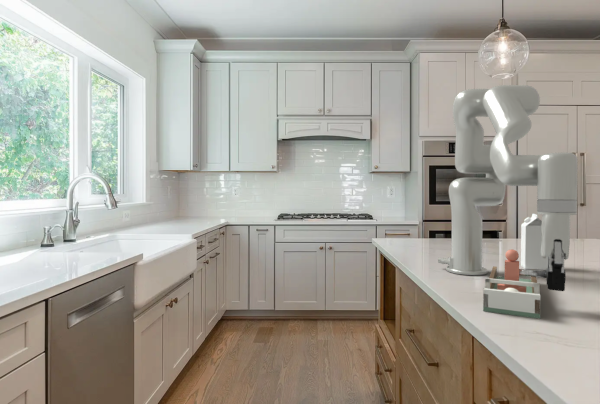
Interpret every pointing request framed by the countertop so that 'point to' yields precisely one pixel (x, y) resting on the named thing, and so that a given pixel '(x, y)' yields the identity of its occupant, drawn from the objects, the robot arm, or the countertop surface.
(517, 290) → the egg
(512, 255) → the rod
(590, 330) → the countertop surface
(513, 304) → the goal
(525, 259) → the milk carton
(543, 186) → the robot arm
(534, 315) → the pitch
